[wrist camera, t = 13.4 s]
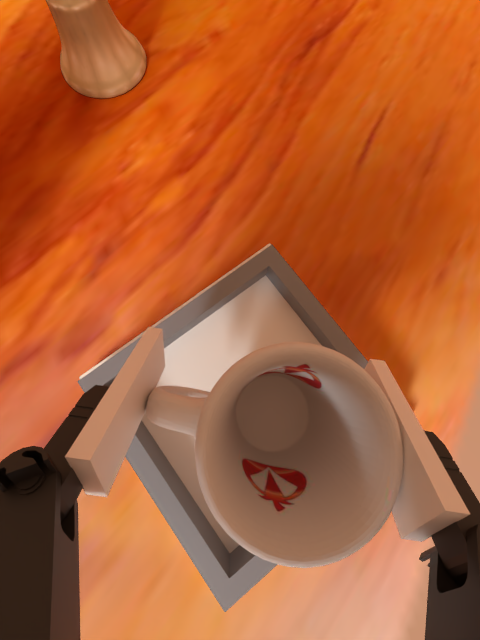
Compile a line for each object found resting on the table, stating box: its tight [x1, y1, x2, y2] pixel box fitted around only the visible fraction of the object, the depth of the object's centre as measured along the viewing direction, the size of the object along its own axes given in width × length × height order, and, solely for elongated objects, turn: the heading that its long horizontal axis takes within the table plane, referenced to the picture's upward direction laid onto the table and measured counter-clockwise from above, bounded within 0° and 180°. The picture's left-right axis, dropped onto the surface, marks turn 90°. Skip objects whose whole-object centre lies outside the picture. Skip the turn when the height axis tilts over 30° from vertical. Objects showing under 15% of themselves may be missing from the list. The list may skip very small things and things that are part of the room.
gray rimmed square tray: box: [78, 243, 368, 612], centre depth 18 cm, size 18×18×3 cm
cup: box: [146, 342, 404, 568], centre depth 13 cm, size 11×8×8 cm
